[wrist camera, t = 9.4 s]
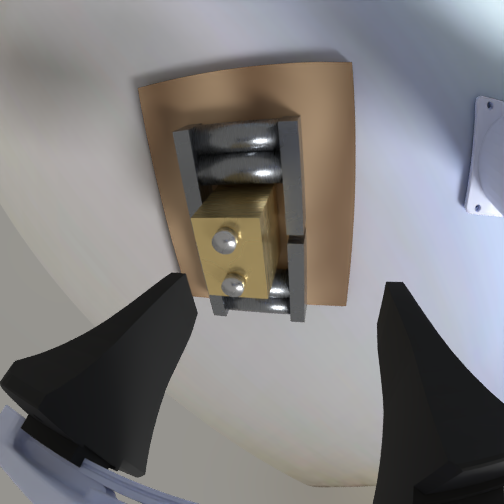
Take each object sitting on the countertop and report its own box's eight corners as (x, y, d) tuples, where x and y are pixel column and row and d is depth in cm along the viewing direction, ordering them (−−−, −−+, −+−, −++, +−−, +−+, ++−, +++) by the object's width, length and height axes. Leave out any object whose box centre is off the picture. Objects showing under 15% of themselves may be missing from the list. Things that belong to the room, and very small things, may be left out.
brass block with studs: (275, 180, 18) (256, 223, 14) (281, 249, 21) (266, 306, 16) (221, 182, 19) (185, 223, 14) (232, 248, 22) (205, 301, 17)
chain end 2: (306, 227, 19) (303, 244, 18) (306, 303, 23) (304, 322, 21) (206, 226, 21) (195, 241, 20) (221, 297, 25) (214, 315, 23)
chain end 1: (300, 115, 16) (297, 120, 14) (305, 219, 19) (303, 235, 18) (186, 125, 17) (172, 132, 16) (204, 218, 21) (193, 233, 19)
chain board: (350, 63, 14) (351, 62, 13) (345, 297, 23) (346, 306, 22) (145, 86, 17) (137, 88, 16) (192, 288, 26) (188, 295, 25)
